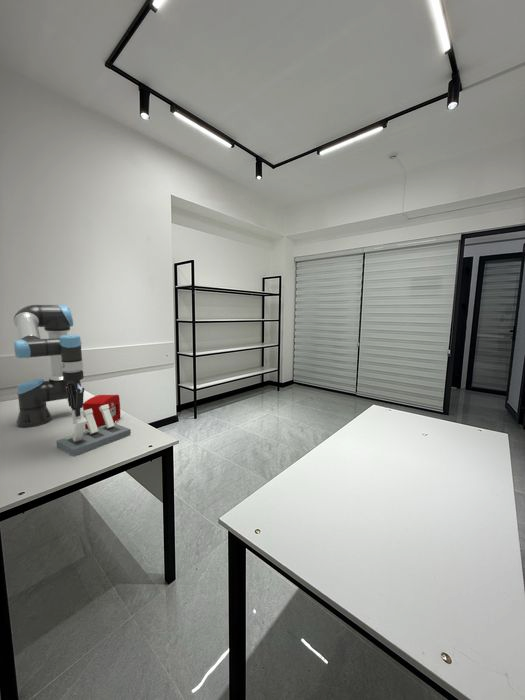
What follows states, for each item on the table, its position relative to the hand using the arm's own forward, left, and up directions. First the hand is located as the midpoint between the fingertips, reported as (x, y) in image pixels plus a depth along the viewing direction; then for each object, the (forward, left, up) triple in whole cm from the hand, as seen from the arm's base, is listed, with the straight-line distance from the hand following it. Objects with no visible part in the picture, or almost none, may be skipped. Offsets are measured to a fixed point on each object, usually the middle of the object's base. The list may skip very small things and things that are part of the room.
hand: (77, 422), depth 128 cm
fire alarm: (-20, +21, -12) cm, 31 cm away
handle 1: (-2, +8, -9) cm, 12 cm away
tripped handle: (-2, 0, -9) cm, 9 cm away
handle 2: (-2, +16, -9) cm, 18 cm away
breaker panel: (-2, +8, -12) cm, 14 cm away
